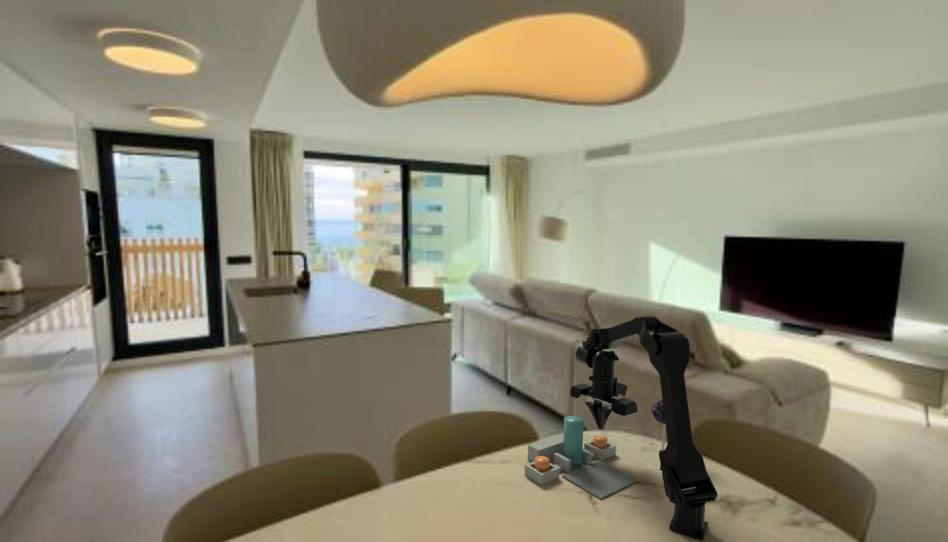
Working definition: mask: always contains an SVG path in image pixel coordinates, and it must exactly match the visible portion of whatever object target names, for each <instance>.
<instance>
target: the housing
mask: <svg viewBox="0 0 948 542" xmlns="http://www.w3.org/2000/svg"><path fill="white" fill-rule="evenodd" d="M563 436H564V432H562V433H559V434H557V435H552V436H550V437H547V438H544V439H542V440H538V441H536V442H532V443H529V444H527V460H528V461H530V462H529V463H527V464H524V475H525V476H526V477H528V478H530V479H531V480H533V481H534V482H536V484H539V485H541V486H543V485H546V484H547V483H550V482H553V481H556V480H558V479H560V472H565V473H566V474H567V473H569V472H571V471H572V469H571V460H570V459H568V458H566V457H564V456H562V455H563ZM593 441H594V439H592V440H589V441H586V442H583V444H584V445H583V453H582V457H583V463H584V464H586V465H588V464H591V463H592V459H598V460H600V461H604V460H606V459H608V457H609V458H612V457H613V456H615V455H616V453H617V449H616V448H617V445H615V444H612V443H611V442H608V441H607V447H606V448H604V449H599V448H597V447H595V446H593ZM537 456H545V457H547V458H549V460H550V463H549V470H548V471H545V472H543V473H541V472H540V471H538V470H536V469H535V458H536V457H537ZM551 461H553V462H552V463H551Z"/></svg>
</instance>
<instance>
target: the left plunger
mask: <svg viewBox="0 0 948 542" xmlns="http://www.w3.org/2000/svg"><path fill="white" fill-rule="evenodd" d="M549 463H551V461H550V460H549V458H547V457H545V456H537V457H536V458H535V469H536V470H538V471H540V472H541V473H543V472H545V471H548V470H549Z"/></svg>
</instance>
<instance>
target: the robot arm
mask: <svg viewBox="0 0 948 542" xmlns="http://www.w3.org/2000/svg"><path fill="white" fill-rule="evenodd" d="M637 337H638V338H639V343H640V345H641V346H642V347H643V348H644V349H645V350H646V352H648V358H649V362H650V364H651V366H653V369H655V371H656V372H657V373H658V376H659V383H660V390H661V392H660V393H661V398H662V399H661V400H663V408H664V416H665V424H666V425H665V434H666V439H667V444H666V447H664V450H662V449H660V450H659V452H658V456H659V463H660V467H659V470H660V472H661V477H662V482H663V488H664V493H665V496H666V497H667V498H668V499H669V502H670V503H672V504H674V509H673V516H672V517H671V520H670V523H669V524H668V528H669V530H671V531H674V532H677V533H680V534H683V535H685V536H687V537H691V538H695V539H697V540H701V541H704V540H705V537H706V533H707V529H708V526H709V523H708V522H707V521H705V517H706V516H705V515H706V503H709V502H716V500H717V498H718V495H719V494H718V491H717V490H716V487H715V486H714V484H713V481H712V479H711V477H710V475H709V473H708V471H707V468H706V464H705V460H704V456H703V455H702V453H701V452H700V451H699V449H698V448H697V447H696V445H695V444H694V439H693V432H692V425H691V416H690V410H689V401H688V395H687V393H688V392H687V386H686V385H687V384H686V379H685V374H686V371H687V368H688V366H689V363H690V361H691V349H690V348H691V345H690V344H691V343H690V341H689V338H688V337H686V336H685V335H684V333H681V332H680V331H679V330H678V329H677V328H674V327H673V326H671V325H668V324H667V323H664V322H663V321H661V320H660V319H659V318H658V317H657V316H654V315H640V316H636V317H634V318H632V319H630V320H627V321H624V322H623V323H619V324H617V325H613V326H611V327H594V328H592V329H591V330H590V333H589V334H588V337H587V338H586V340H582V342H581V344H582V345H580V346H579V347H578V348H577V350H576V351H575V357H576V360H577V362H579V363H580V364H582V365H584V366H585V367H586V366H587V368H590V369H591V370H592V372H591V375H589V376H588V380H589V381H591V385H589V384H587V383H586V384H585V383H579V384H574V385H572V386H571V387H570V389H569V397H572V398H574V399H579V398H581V395H582V396H585V397H586V400H587V401H586V402H585V401H584V402H585V403H584V404H585V405H586V406H587V407H588V409H589V411H590V413H591V415H592V418H593V420H594V422H595V423H596V426H597V428H598V429H599V430H600V431H602V430H604V429H605V426H606V424H607V421H608V419H609V416H610V415H611V413H612V412H613V413H614V414H617V415H619V416H622V417H623V416H624V417H625V416H628V415H632V414H635V413H637V412H638V403H637V402H636V401H635V400H633V399H630V398H628V397H626V394H627V392H628V391H627V390H628V385H627V384H623V383H621V382H618V377H617V376H615V362H616V361H620V358H619V356H618V355H617V354H616V352H615V351H614V350H612V349H617V348H619V347H621V346H622V345H623V343H624V342H625V341H627V340H630V339H634V338H637ZM607 350H608V351H607ZM619 395H621V396H622V397H621V398H618V399H617V397H619ZM614 397H615V398H614Z"/></svg>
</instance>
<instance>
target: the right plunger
mask: <svg viewBox="0 0 948 542" xmlns="http://www.w3.org/2000/svg"><path fill="white" fill-rule="evenodd" d="M593 440H594V441H593V446H595V447H597V448H599V449H604V448H606V447H607V442H608V437H606V436H604V435H601V434H599V435H598V434H596V435H594V436H593Z"/></svg>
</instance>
